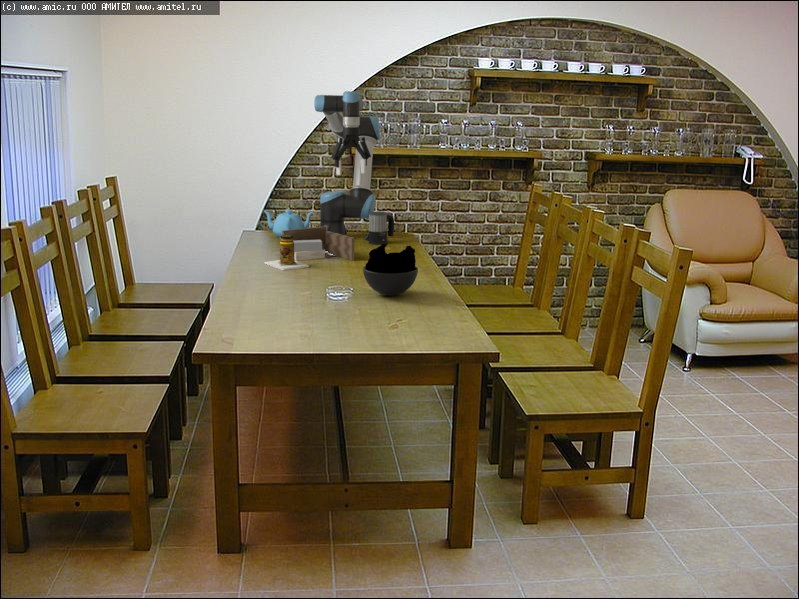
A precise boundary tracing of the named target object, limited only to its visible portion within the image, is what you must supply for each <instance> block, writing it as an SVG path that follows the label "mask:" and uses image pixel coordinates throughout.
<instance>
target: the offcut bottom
mask: <svg viewBox="0 0 799 599" xmlns="http://www.w3.org/2000/svg"><path fill="white" fill-rule="evenodd" d="M294 258H295V261H297V262H300V261H307V260H318V259H326V253H325V250H324V249H322V251H298V252H294Z"/></svg>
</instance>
